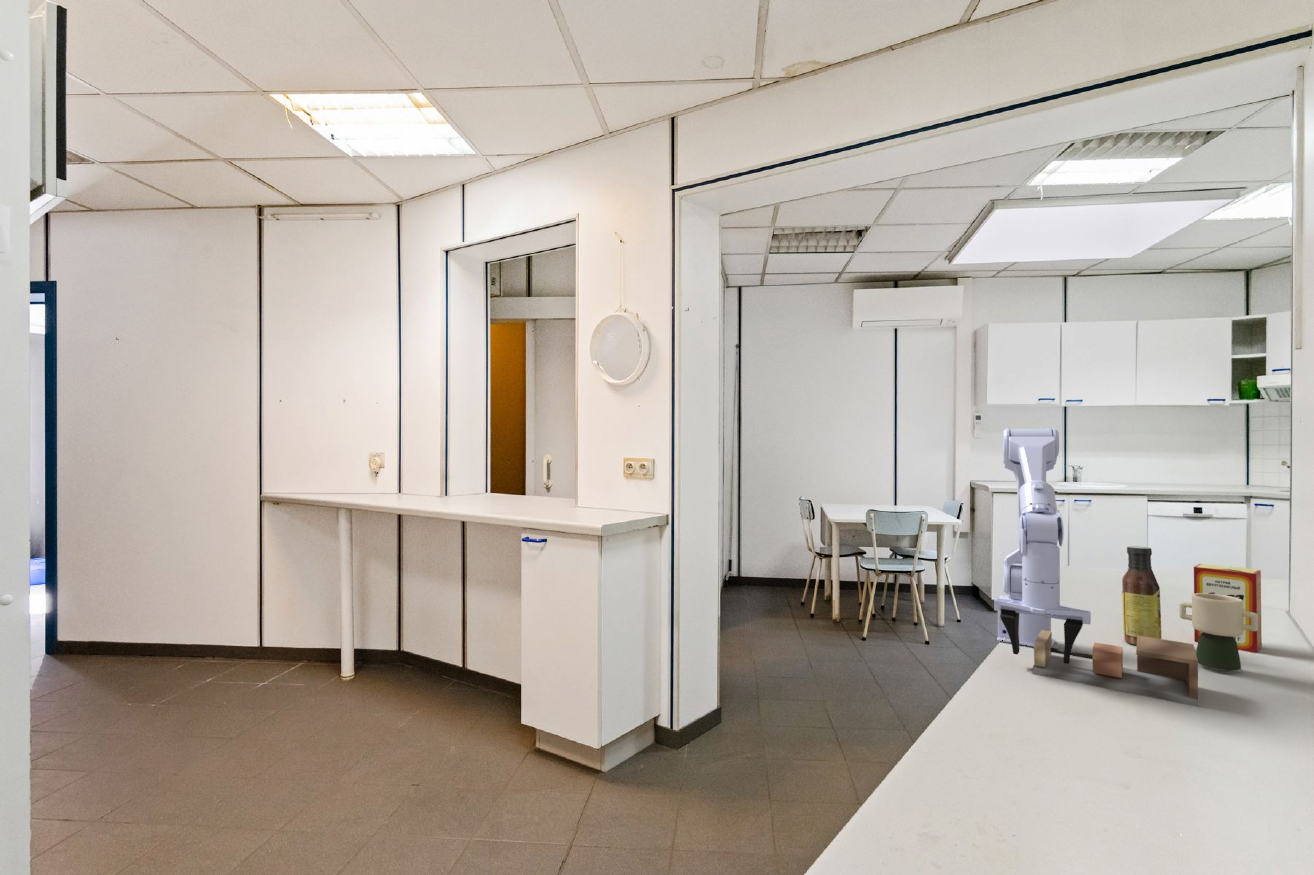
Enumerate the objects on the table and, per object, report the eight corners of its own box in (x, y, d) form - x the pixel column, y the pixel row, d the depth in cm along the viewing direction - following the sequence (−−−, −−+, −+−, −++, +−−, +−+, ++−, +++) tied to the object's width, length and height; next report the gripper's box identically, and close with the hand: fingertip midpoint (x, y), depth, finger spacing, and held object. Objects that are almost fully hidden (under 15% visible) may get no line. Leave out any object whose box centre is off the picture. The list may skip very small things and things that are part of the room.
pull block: (1034, 665, 109) (1034, 642, 109) (1041, 652, 117) (1041, 630, 117) (1121, 682, 102) (1121, 657, 102) (1123, 666, 109) (1122, 643, 110)
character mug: (1263, 673, 111) (1262, 600, 111) (1254, 682, 106) (1253, 605, 107) (1185, 657, 119) (1184, 589, 120) (1174, 664, 115) (1173, 593, 116)
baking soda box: (1194, 641, 130) (1193, 565, 130) (1200, 636, 134) (1200, 562, 134) (1257, 653, 123) (1256, 572, 123) (1261, 647, 127) (1260, 568, 127)
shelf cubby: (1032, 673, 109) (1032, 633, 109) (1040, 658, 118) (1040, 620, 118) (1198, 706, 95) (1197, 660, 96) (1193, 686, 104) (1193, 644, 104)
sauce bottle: (1168, 650, 124) (1167, 550, 124) (1133, 647, 125) (1132, 548, 126) (1149, 640, 130) (1148, 545, 131) (1116, 638, 131) (1115, 544, 132)
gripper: (990, 578, 112) (990, 654, 112) (1088, 590, 103) (1088, 672, 103) (998, 573, 118) (998, 645, 117) (1091, 583, 109) (1091, 661, 108)
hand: (1040, 657), depth 110 cm, fingers open, 7 cm apart
